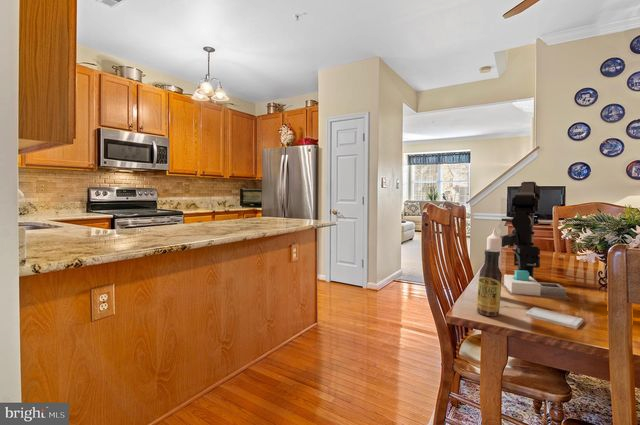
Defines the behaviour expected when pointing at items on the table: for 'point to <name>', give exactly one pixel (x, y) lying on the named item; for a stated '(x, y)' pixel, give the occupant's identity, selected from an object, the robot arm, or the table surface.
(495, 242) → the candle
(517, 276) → the plug
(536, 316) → the hard drive
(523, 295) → the board
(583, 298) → the table surface
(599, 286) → the table surface
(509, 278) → the port box
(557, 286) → the holster
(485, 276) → the sauce bottle
